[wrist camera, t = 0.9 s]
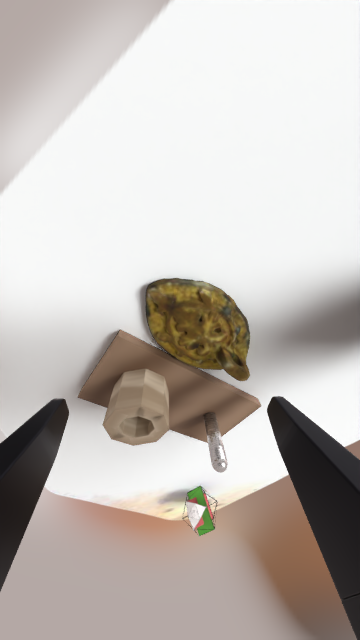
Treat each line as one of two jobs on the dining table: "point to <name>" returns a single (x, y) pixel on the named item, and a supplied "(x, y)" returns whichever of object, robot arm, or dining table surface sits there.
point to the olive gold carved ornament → (199, 325)
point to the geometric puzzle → (199, 511)
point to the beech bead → (138, 408)
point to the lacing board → (171, 387)
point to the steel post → (215, 442)
